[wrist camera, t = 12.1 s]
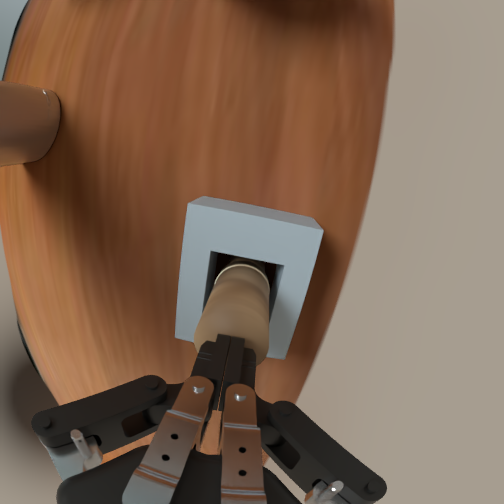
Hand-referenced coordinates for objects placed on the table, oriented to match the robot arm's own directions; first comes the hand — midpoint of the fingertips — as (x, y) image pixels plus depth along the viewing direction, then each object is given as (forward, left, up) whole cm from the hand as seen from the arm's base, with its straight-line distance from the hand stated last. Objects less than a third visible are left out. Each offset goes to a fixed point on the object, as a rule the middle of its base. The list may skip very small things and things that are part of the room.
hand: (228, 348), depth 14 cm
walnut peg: (0, 0, -12) cm, 12 cm away
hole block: (0, 0, -12) cm, 12 cm away
